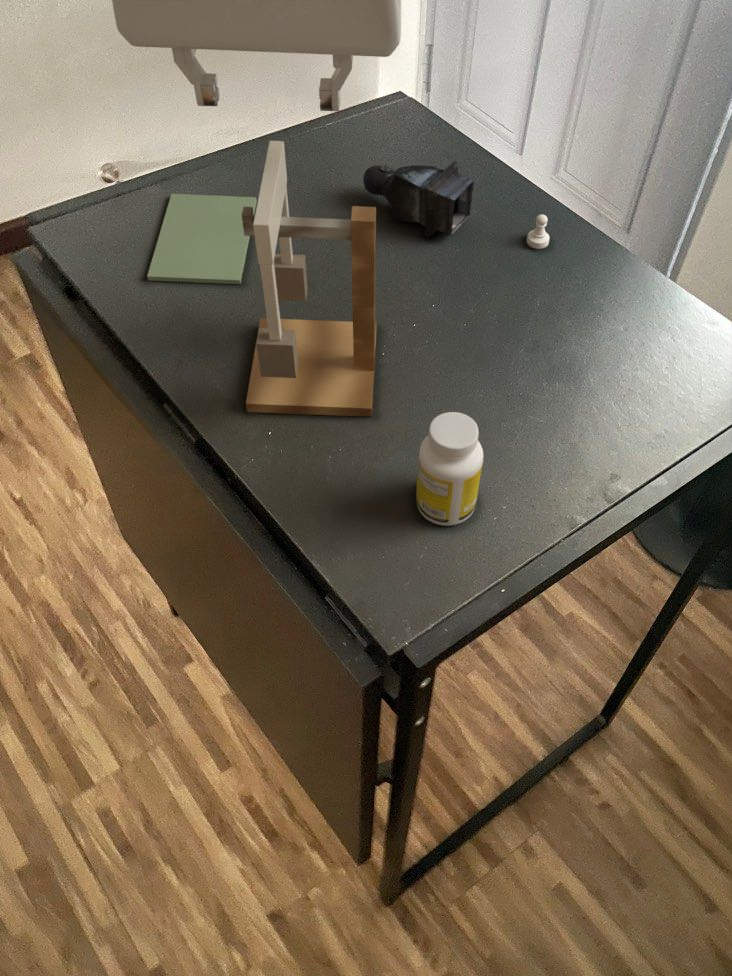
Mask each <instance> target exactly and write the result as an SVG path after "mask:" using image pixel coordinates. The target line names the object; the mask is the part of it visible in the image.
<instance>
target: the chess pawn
mask: <svg viewBox="0 0 732 976" xmlns="http://www.w3.org/2000/svg"><path fill="white" fill-rule="evenodd" d="M535 225H536V227H535V228H534V229H533V230H530V231H528V233H527V236H526V244H527V245H528V246H529V247H530V248H533V249H537V250H541V249H544V248H545V249H546V248H547V247H548V246H549V243H550V234H549V233H548V232H546V230H545V228H546V227H547V225H548V216H547V215H545V214H544V213H543V214H538V215H537V216H536V218H535Z"/></svg>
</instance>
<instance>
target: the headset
mask: <svg viewBox="0 0 732 976" xmlns="http://www.w3.org/2000/svg"><path fill="white" fill-rule="evenodd" d="M285 149H286V148H285V141H283V140H269V141H268V147H267V152H266V157H265V161H264V168H263V173H262V178H261V183H260V187H259V191H258V192H259V193H258V197H257V203H256V208H255V213H254V216H255V218H254V223H253V227H254V235H255V236H254V241H255V249H256V256H257V264H259V269H260V277H261V284H262V291H263V301H264V307H265V316H266V318H267V324H268V329H260V328H259V327H258V329H259V331H258V330H257V335H258V337H257V336H256V340H257V343H256V342H255V346H256V345H257V352H258V359H259V365H260V372H261V377H280V378H296V376H297V368H298V356H297V345H296V335H295V330H285V329H281V321H280V319H281V312H280V304H279V302H298V303H300V302H301V303H306V302H307V296H308V276H307V275H308V274H307V261H306V255H305V254H293V253H294V252H293V242H292V238H288V237H278V233H279V227H280V221H281V217H290V209H289V199H288V198H289V196H288V188H287V183H288V174H287V164H286V152H285V151H286V150H285ZM277 243H279V250H280V251H279V252H280V253H276V252H277V251H276V250H277V245H278V244H277Z"/></svg>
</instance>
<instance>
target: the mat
mask: <svg viewBox="0 0 732 976" xmlns="http://www.w3.org/2000/svg"><path fill="white" fill-rule="evenodd" d="M257 202H258V198H257V197H256V196H234V195H214V194H213V195H211V194H193V193H192V194H190V193H170V197H169V200H168V204H167V207H166V210H165V214H164V217H163V221H162V224H161V228H160V230H159V234H158V238H157V241H156V243H155V248H154V251H153V254H152V258H151V261H150V263H149V264H150V265H149V268H148V272H147V275H146V277H147V281H150V282H171V283H172V282H174V283H175V282H176V283H198V284H220V285H221V284H223V285H224V284H225V285H241V283H242V279H243V273H244V268H245V263H246V258H247V253H248V249H249V243H250V238H251V236H245V235H244V230H243V222H242V211H243V207H252V208H253V214H254V215H255V213H256V208H257Z"/></svg>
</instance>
